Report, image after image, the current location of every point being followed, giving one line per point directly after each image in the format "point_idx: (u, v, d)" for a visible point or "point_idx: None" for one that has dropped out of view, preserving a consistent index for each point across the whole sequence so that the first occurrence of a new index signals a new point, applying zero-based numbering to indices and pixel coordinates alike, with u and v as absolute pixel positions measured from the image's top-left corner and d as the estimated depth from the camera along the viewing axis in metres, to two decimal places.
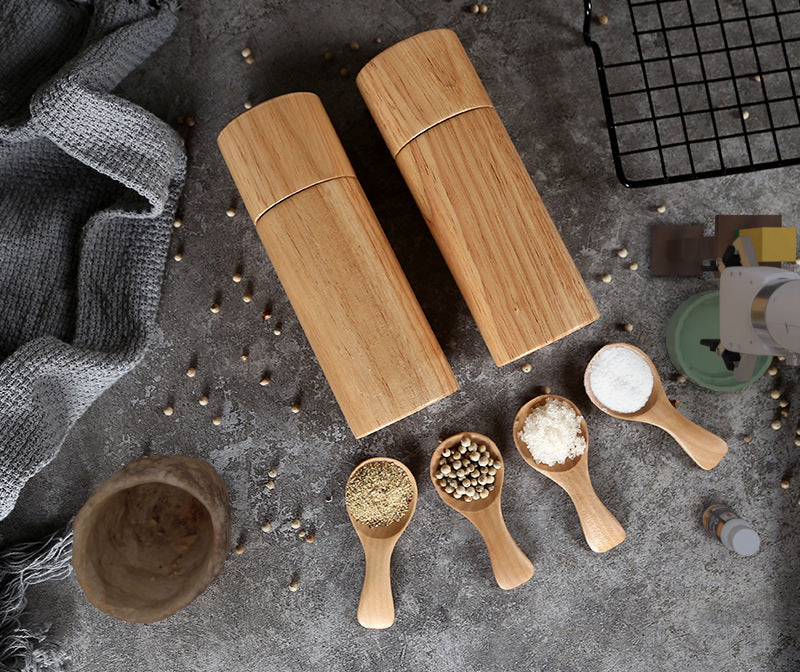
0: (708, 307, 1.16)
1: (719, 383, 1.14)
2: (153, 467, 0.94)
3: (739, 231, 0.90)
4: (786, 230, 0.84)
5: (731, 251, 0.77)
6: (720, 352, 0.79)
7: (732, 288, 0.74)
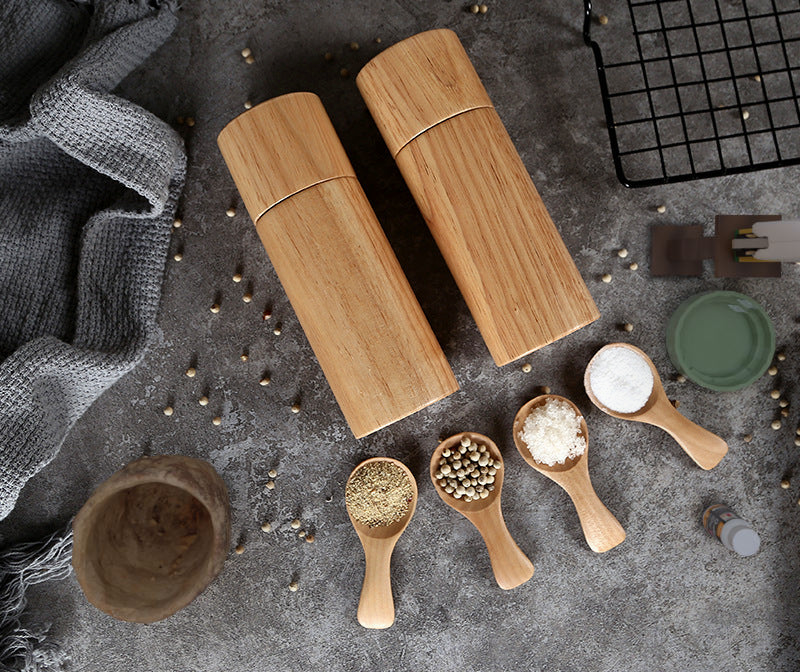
0: (708, 307, 1.16)
1: (719, 383, 1.14)
2: (153, 467, 0.94)
3: (739, 231, 0.90)
4: None
5: (747, 249, 0.83)
6: None
7: (785, 261, 0.79)
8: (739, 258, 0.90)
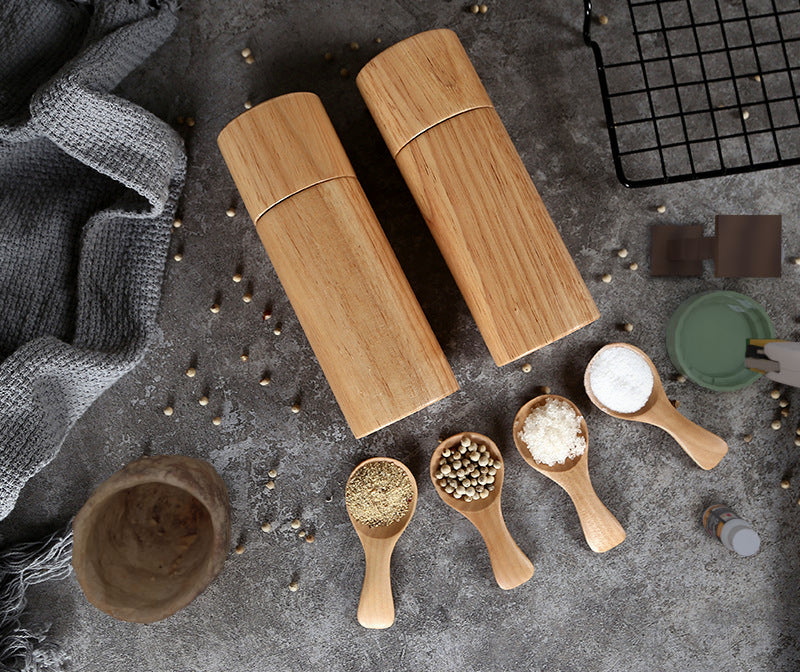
0: (708, 307, 1.16)
1: (719, 383, 1.14)
2: (153, 467, 0.94)
3: (750, 341, 0.94)
4: None
5: None
6: None
7: None
8: None
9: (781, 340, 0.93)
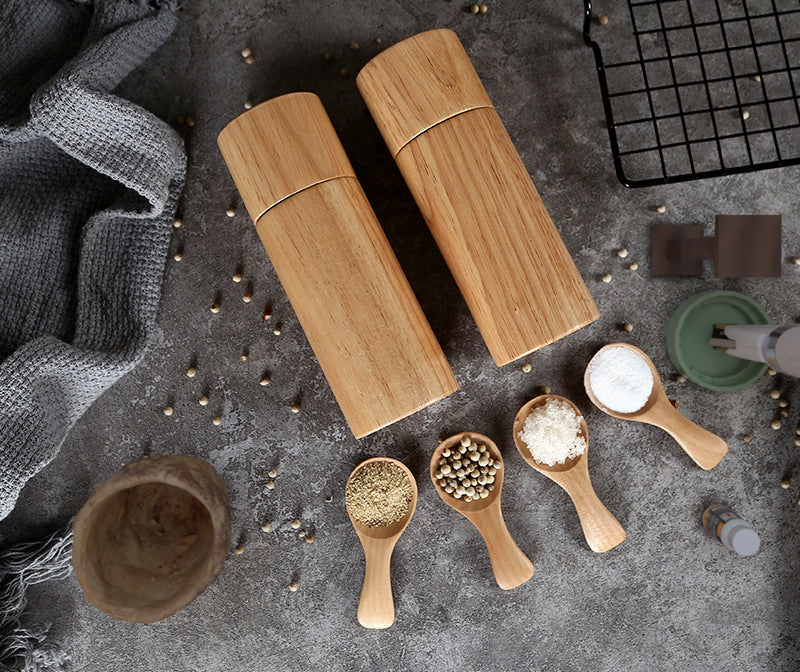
0: (708, 307, 1.16)
1: (719, 383, 1.14)
2: (153, 467, 0.94)
3: (716, 325, 1.15)
4: None
5: (721, 345, 1.08)
6: None
7: None
8: (716, 347, 1.14)
9: None
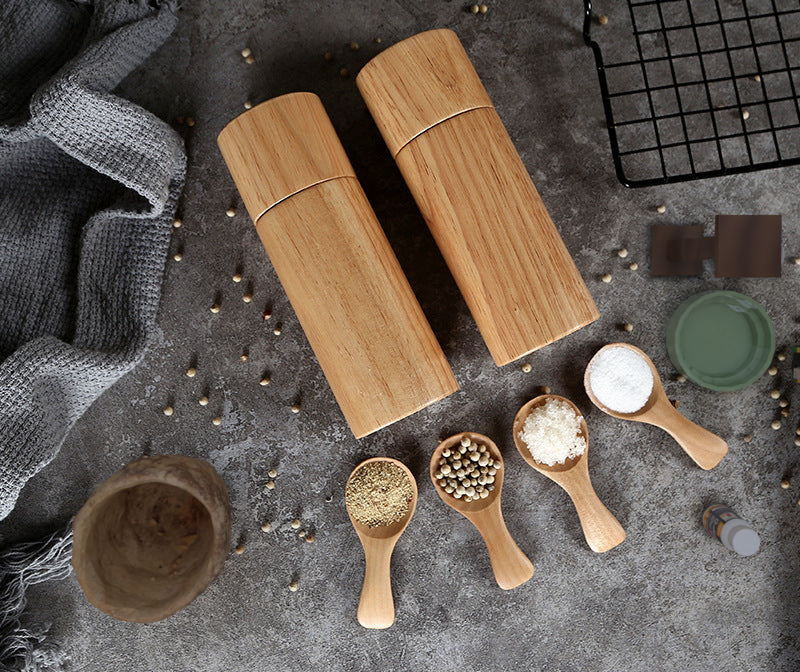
0: (708, 307, 1.16)
1: (719, 383, 1.14)
2: (153, 467, 0.94)
3: (797, 349, 0.83)
4: None
5: None
6: None
7: None
8: (797, 379, 0.83)
9: None
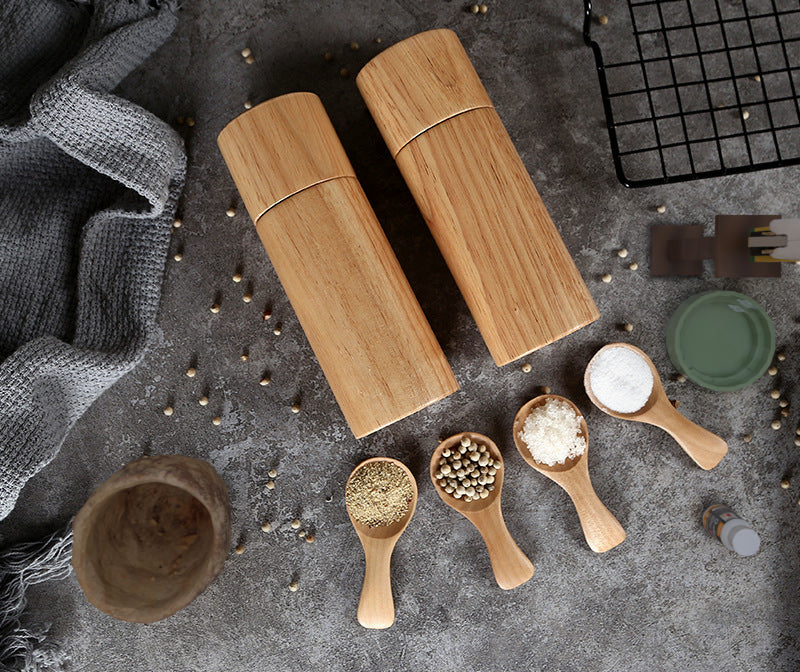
0: (708, 307, 1.16)
1: (719, 383, 1.14)
2: (153, 467, 0.94)
3: (754, 230, 0.86)
4: None
5: (763, 248, 0.79)
6: None
7: None
8: (755, 258, 0.86)
9: None
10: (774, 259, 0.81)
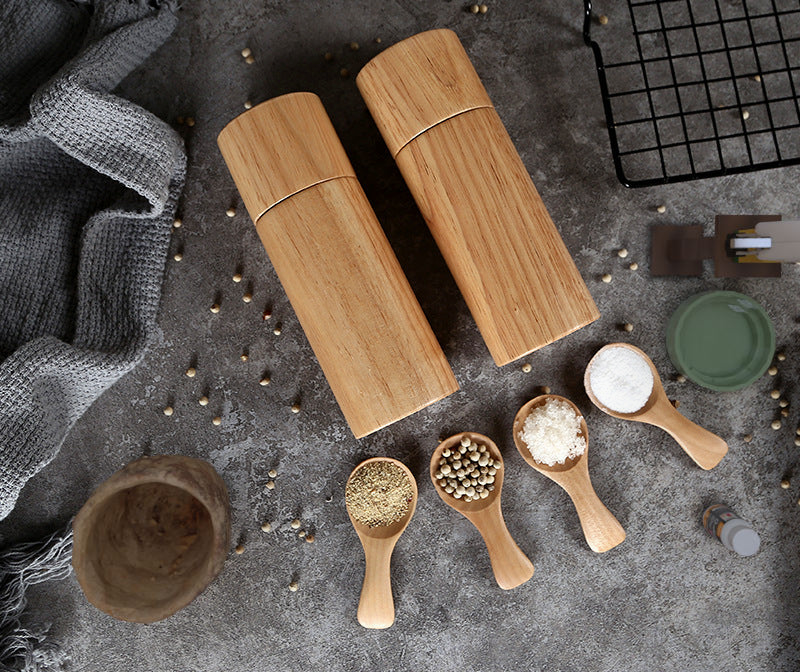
0: (708, 307, 1.16)
1: (719, 383, 1.14)
2: (153, 467, 0.94)
3: (739, 232, 0.90)
4: None
5: (739, 249, 0.81)
6: None
7: None
8: (739, 259, 0.90)
9: None
10: (756, 260, 0.86)
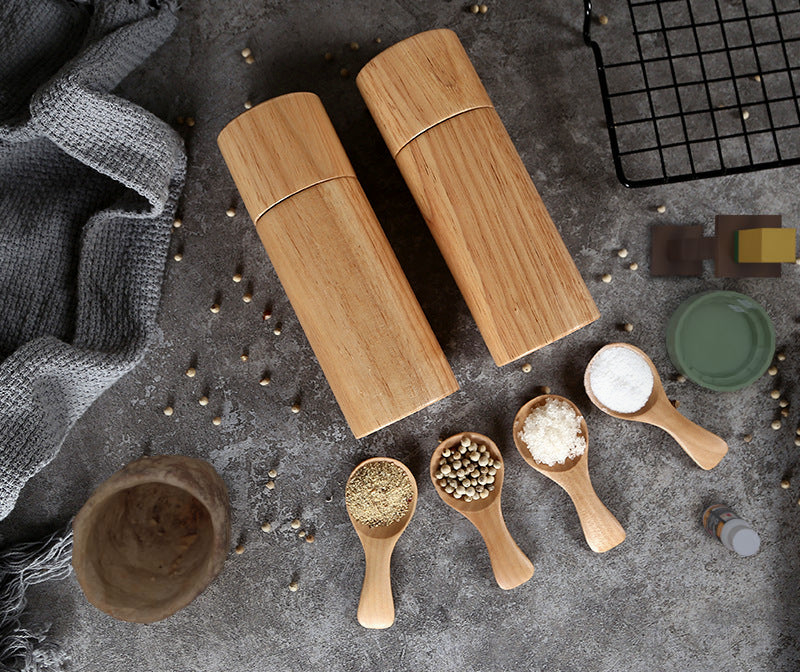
0: (708, 307, 1.16)
1: (719, 383, 1.14)
2: (153, 467, 0.94)
3: (739, 232, 0.90)
4: (785, 231, 0.84)
5: None
6: None
7: None
8: (739, 259, 0.90)
9: None
10: (756, 260, 0.86)
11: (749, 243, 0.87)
